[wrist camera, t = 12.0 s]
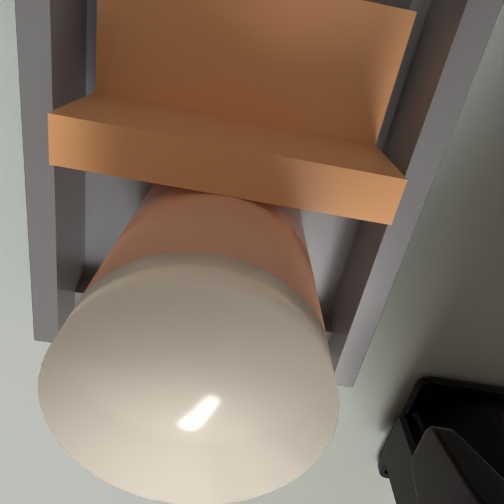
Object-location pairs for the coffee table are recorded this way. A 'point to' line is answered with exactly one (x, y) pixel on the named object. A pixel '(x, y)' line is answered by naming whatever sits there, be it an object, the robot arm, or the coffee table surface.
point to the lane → (314, 223)
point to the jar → (196, 354)
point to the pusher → (243, 101)
